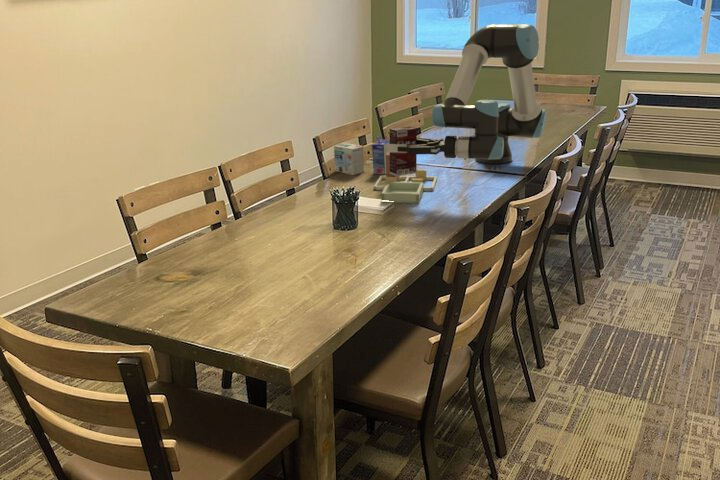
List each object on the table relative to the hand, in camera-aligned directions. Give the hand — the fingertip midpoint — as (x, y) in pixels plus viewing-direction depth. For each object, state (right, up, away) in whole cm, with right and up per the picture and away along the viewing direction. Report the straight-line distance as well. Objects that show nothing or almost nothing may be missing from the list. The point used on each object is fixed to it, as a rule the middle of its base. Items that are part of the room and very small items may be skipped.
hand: (392, 145), depth 237 cm
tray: (+4, -18, +6) cm, 19 cm away
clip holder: (+6, -12, +21) cm, 25 cm away
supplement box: (+4, -10, +2) cm, 11 cm away
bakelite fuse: (+1, -12, +22) cm, 25 cm away
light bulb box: (-15, -5, +42) cm, 45 cm away
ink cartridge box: (-2, -5, +40) cm, 41 cm away
